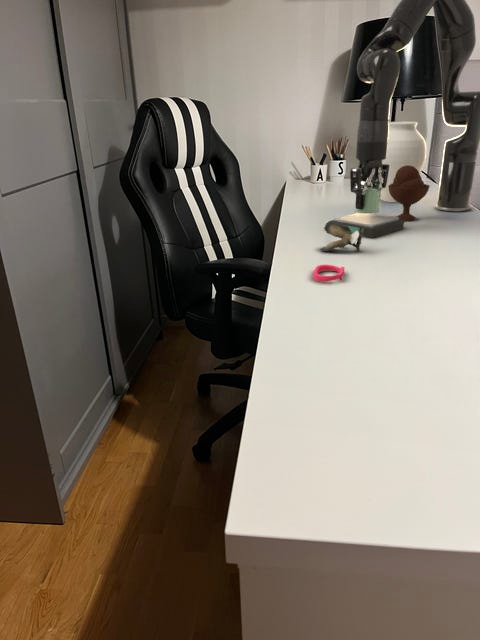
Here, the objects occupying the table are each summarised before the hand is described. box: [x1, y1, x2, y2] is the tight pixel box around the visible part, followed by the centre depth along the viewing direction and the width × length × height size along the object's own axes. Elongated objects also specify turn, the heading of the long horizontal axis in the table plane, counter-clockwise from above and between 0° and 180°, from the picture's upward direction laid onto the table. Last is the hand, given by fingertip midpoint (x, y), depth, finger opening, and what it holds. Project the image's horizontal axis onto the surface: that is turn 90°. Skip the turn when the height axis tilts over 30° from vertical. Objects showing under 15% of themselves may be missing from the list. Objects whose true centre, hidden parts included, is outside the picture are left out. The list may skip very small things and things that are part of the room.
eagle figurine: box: [319, 219, 364, 253], centre depth 114 cm, size 8×7×9 cm
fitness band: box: [312, 264, 345, 283], centre depth 98 cm, size 8×6×2 cm
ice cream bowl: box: [388, 165, 431, 222], centre depth 141 cm, size 11×11×15 cm
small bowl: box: [354, 187, 381, 214], centre depth 131 cm, size 6×6×6 cm
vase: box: [380, 121, 428, 203], centre depth 167 cm, size 18×18×25 cm
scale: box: [330, 212, 405, 239], centre depth 133 cm, size 14×14×3 cm
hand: (367, 207), depth 131 cm, fingers closed on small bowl, 6 cm apart
